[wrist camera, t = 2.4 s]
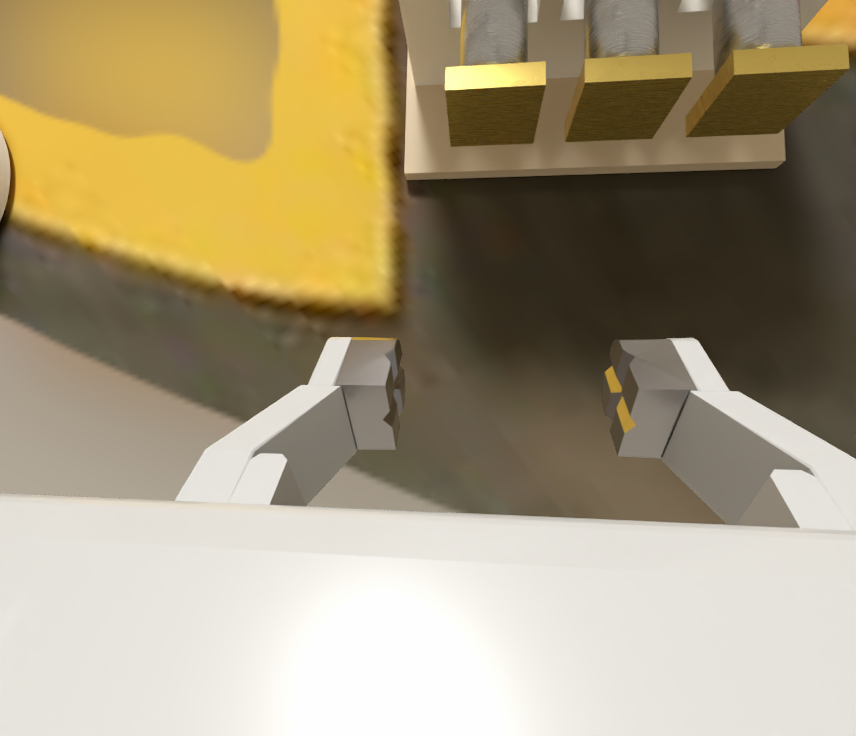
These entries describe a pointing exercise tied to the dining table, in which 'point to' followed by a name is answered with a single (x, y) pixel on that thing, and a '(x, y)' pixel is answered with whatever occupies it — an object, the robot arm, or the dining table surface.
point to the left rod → (494, 77)
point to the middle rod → (624, 74)
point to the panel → (567, 100)
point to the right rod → (761, 70)
